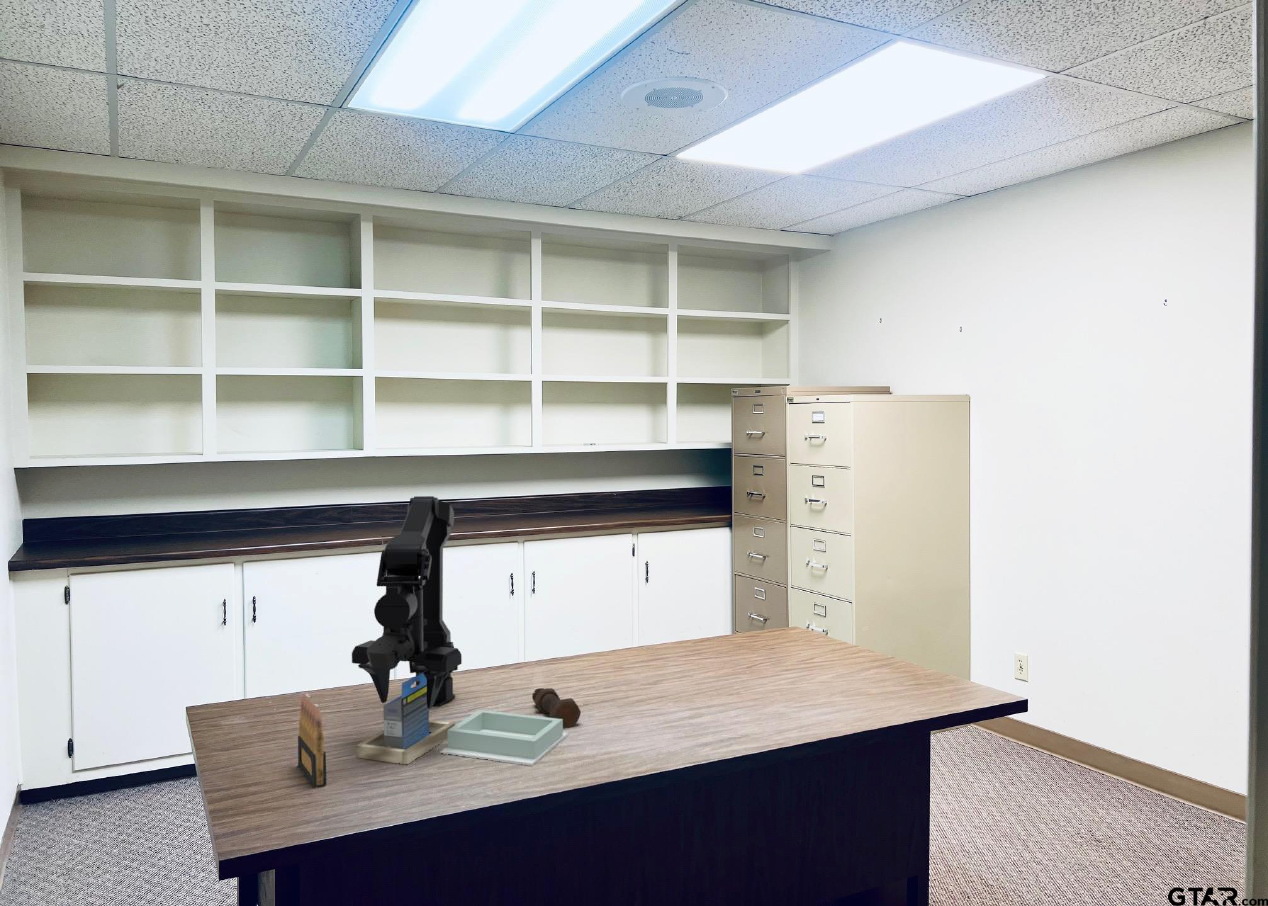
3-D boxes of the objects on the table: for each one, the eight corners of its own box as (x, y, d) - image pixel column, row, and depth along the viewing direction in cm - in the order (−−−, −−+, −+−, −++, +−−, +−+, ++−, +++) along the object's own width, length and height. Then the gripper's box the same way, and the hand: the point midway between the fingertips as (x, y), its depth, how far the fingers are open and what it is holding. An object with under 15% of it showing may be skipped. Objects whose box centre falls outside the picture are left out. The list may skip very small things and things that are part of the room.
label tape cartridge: (410, 735, 157) (410, 667, 156) (430, 738, 155) (429, 669, 155) (382, 753, 148) (381, 681, 148) (403, 756, 147) (402, 683, 147)
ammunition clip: (297, 766, 143) (296, 693, 142) (309, 763, 144) (308, 691, 143) (314, 788, 134) (313, 710, 134) (326, 785, 135) (325, 708, 135)
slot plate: (440, 753, 148) (440, 733, 148) (483, 724, 162) (483, 706, 162) (531, 766, 142) (531, 745, 142) (568, 735, 157) (568, 716, 156)
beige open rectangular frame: (355, 757, 146) (355, 745, 146) (406, 728, 160) (406, 717, 160) (407, 764, 143) (407, 752, 143) (454, 734, 157) (454, 723, 157)
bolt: (543, 713, 174) (571, 735, 161) (521, 704, 172) (548, 725, 159) (556, 686, 175) (585, 705, 162) (535, 676, 174) (562, 695, 160)
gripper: (330, 621, 146) (331, 714, 147) (427, 629, 140) (428, 726, 141) (370, 608, 157) (371, 694, 157) (462, 615, 151) (463, 705, 151)
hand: (406, 705), depth 152 cm, fingers open, 9 cm apart
